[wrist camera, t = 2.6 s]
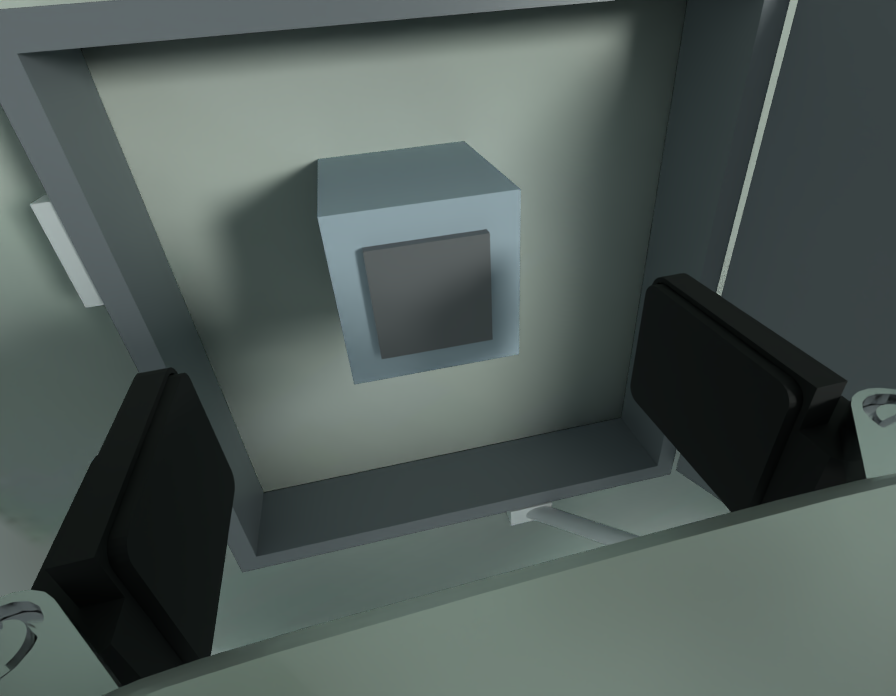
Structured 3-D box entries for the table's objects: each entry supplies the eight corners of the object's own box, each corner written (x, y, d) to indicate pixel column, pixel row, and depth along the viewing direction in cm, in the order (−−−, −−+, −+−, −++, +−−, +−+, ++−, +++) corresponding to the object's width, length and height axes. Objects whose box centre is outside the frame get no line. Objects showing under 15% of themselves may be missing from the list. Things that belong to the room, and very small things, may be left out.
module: (463, 140, 17) (524, 192, 12) (470, 272, 20) (522, 359, 15) (317, 159, 17) (317, 221, 12) (345, 292, 20) (354, 390, 14)
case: (809, -48, 16) (1464, -136, 7) (686, 428, 28) (870, 634, 19) (7, 16, 13) (-762, 10, 4) (245, 524, 25) (200, 831, 16)
